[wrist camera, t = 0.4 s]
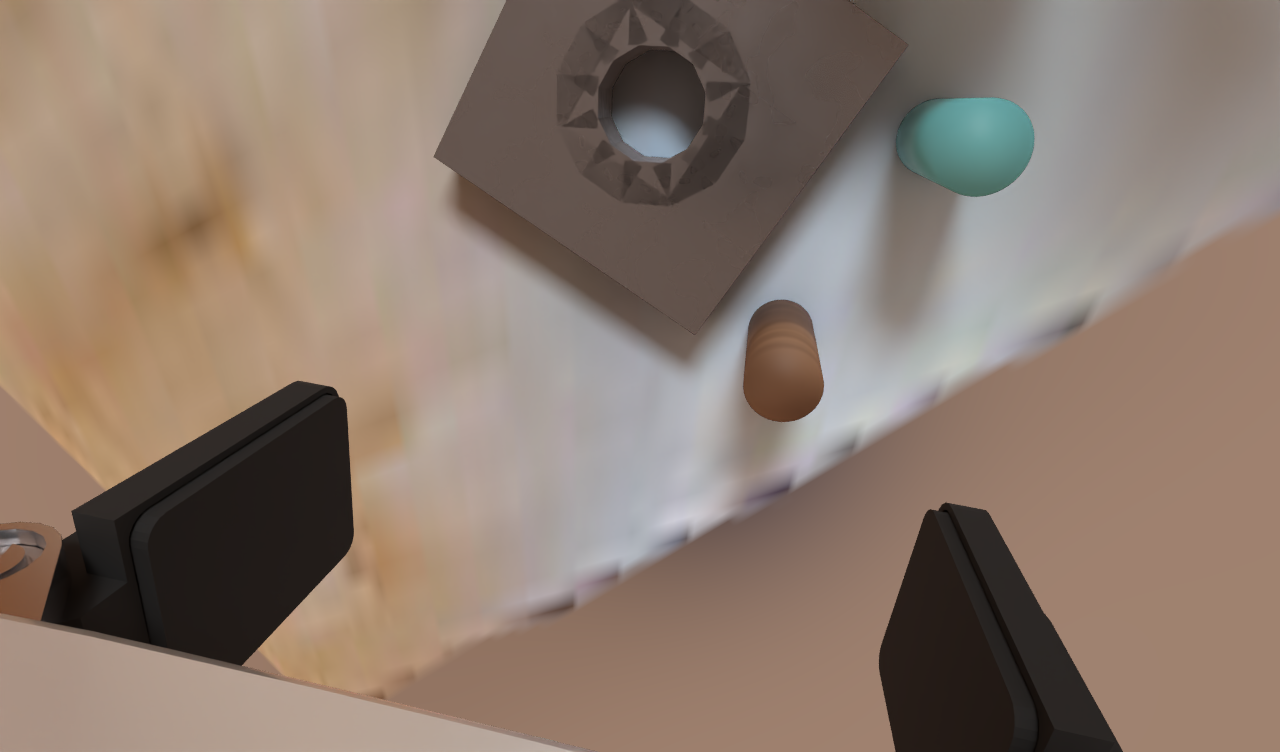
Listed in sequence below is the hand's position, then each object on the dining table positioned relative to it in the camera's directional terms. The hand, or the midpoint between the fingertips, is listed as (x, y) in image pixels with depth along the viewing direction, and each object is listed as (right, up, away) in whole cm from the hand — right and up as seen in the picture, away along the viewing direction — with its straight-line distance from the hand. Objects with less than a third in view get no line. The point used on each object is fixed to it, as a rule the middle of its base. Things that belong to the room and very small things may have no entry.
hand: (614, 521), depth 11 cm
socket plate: (+1, +16, +23) cm, 28 cm away
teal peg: (+15, +14, +22) cm, 29 cm away
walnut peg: (+8, +5, +27) cm, 28 cm away
